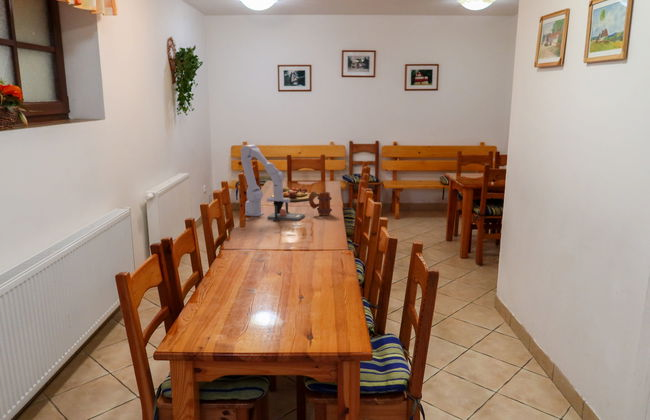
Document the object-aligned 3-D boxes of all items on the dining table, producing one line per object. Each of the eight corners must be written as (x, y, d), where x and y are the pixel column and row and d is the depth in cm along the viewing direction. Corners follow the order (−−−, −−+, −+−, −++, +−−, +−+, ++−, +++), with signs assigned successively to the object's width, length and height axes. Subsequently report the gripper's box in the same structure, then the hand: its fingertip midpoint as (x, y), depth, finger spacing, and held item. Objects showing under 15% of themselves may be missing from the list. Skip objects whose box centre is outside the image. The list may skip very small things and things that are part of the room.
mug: (332, 213, 324) (332, 190, 321) (331, 216, 316) (331, 192, 313) (309, 213, 326) (309, 190, 322) (308, 216, 318) (307, 192, 314)
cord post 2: (282, 214, 322) (282, 200, 320) (285, 213, 325) (284, 199, 324) (288, 215, 321) (288, 201, 319) (291, 213, 324) (290, 199, 322)
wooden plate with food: (308, 203, 359) (308, 191, 358) (265, 201, 366) (265, 189, 364) (318, 195, 390) (318, 185, 388) (278, 194, 396) (278, 183, 395)
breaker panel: (267, 218, 311) (267, 216, 311) (274, 214, 322) (274, 212, 322) (298, 220, 305) (298, 218, 305) (304, 216, 317) (304, 214, 316)
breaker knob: (280, 215, 313) (279, 209, 312) (281, 214, 316) (281, 208, 315) (284, 215, 312) (284, 210, 311) (286, 214, 315) (286, 209, 314)
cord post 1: (271, 221, 305) (271, 206, 303) (274, 219, 309) (274, 205, 307) (278, 221, 304) (277, 206, 302) (280, 220, 307) (280, 205, 306)
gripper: (264, 192, 310) (265, 214, 313) (286, 193, 306) (287, 215, 309) (269, 190, 317) (269, 211, 319) (291, 191, 313) (291, 212, 315)
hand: (278, 213), depth 315 cm, fingers closed
